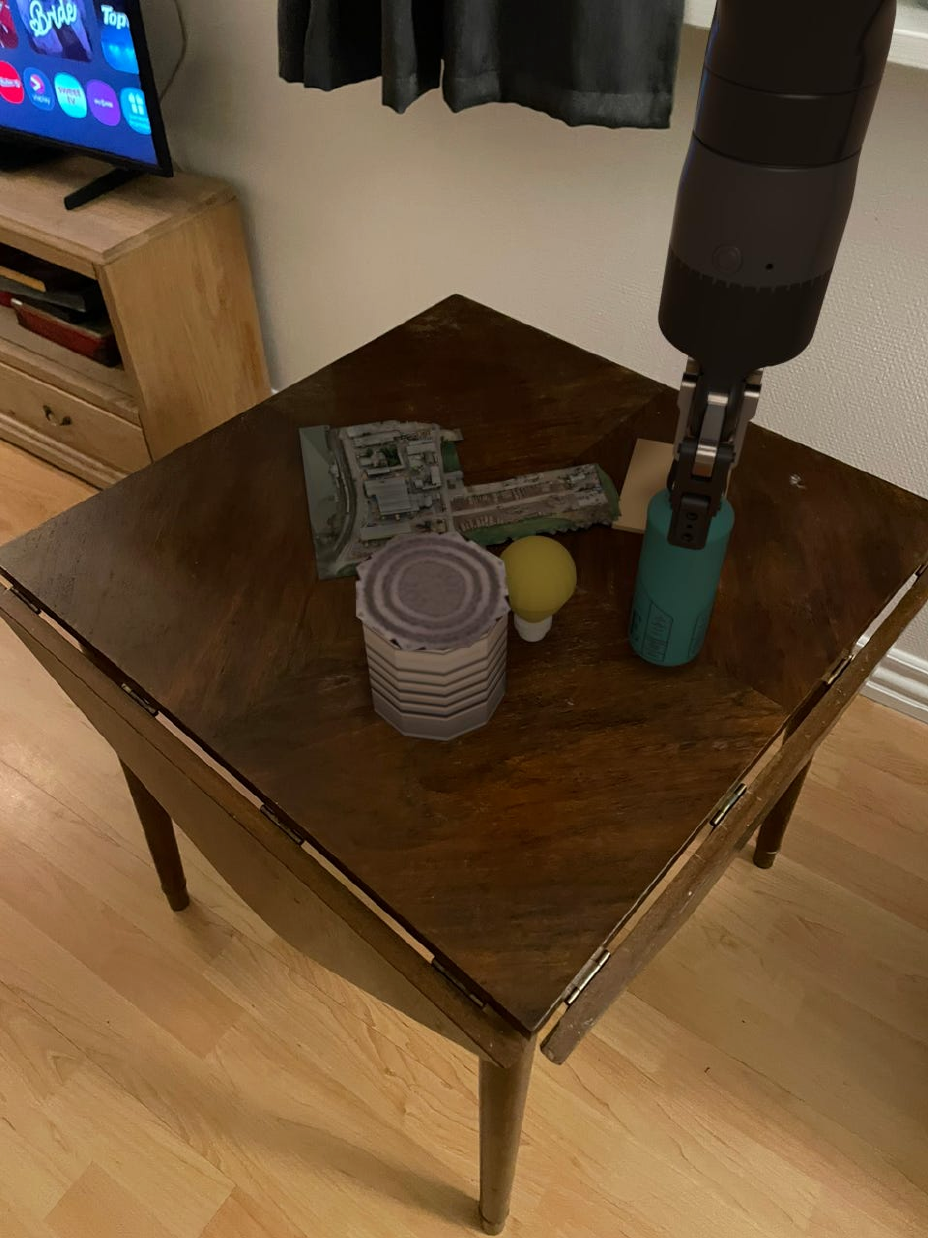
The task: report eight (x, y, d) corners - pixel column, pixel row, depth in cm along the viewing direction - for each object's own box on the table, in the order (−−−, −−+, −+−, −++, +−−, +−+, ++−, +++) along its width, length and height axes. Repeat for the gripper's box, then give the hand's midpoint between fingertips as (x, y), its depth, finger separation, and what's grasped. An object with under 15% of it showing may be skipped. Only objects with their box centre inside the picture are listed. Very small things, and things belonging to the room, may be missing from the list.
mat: (733, 459, 96) (734, 454, 96) (716, 548, 87) (717, 543, 87) (636, 442, 98) (637, 437, 98) (611, 528, 89) (611, 523, 89)
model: (635, 529, 88) (636, 516, 87) (319, 580, 85) (316, 567, 84) (574, 401, 102) (574, 389, 101) (301, 441, 99) (299, 428, 98)
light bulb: (515, 671, 77) (519, 587, 70) (480, 618, 82) (480, 533, 74) (585, 644, 79) (596, 560, 72) (547, 594, 83) (554, 509, 76)
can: (493, 626, 81) (494, 522, 72) (519, 731, 73) (524, 630, 64) (362, 642, 80) (347, 539, 71) (374, 751, 72) (360, 651, 63)
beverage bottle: (715, 665, 78) (771, 477, 63) (646, 690, 76) (686, 502, 61) (674, 613, 82) (717, 424, 67) (607, 635, 80) (636, 447, 65)
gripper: (831, 329, 37) (742, 618, 50) (843, 185, 46) (765, 461, 59) (645, 303, 39) (604, 590, 52) (692, 168, 48) (647, 441, 61)
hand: (690, 520), depth 55 cm, fingers open, 3 cm apart
